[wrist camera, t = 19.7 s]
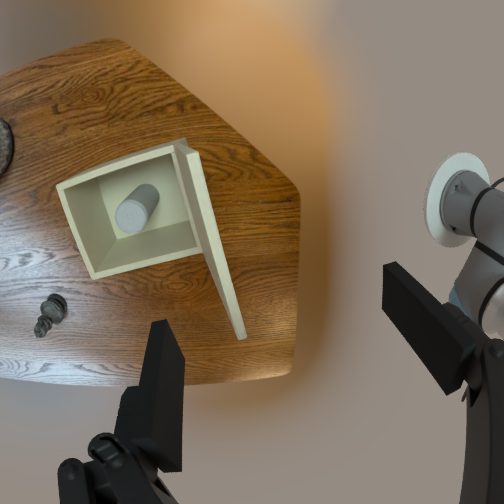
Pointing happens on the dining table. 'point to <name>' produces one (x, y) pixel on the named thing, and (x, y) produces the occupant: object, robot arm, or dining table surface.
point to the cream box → (110, 197)
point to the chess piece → (50, 314)
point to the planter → (5, 145)
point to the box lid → (208, 232)
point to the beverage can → (137, 209)
